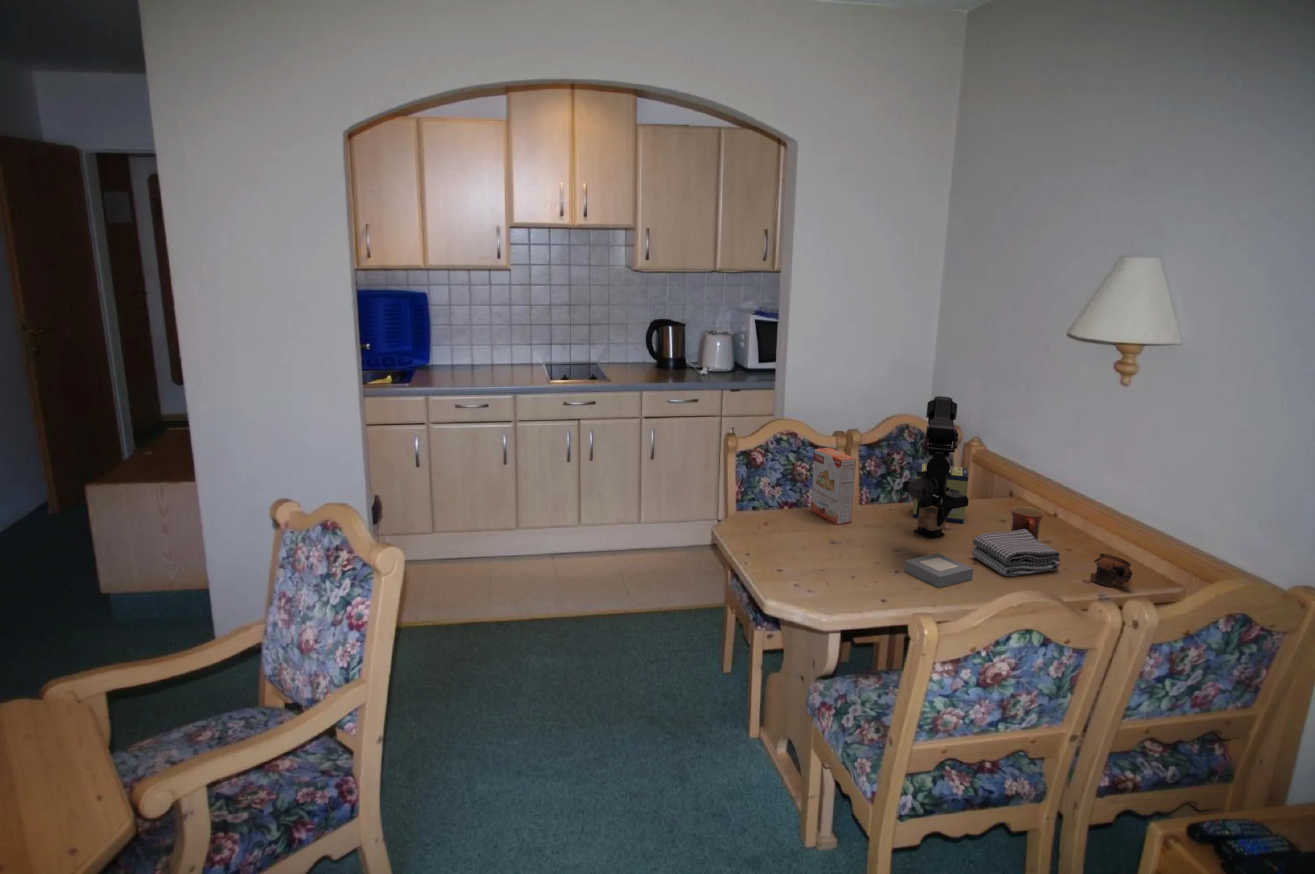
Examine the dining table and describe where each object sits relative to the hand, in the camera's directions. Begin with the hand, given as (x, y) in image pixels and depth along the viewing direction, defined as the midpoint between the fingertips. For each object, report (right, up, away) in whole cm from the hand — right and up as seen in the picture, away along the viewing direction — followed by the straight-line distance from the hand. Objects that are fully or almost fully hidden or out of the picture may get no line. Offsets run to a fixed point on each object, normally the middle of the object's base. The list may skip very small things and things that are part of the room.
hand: (931, 523), depth 233 cm
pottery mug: (+43, -14, -13) cm, 47 cm away
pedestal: (-2, -13, -11) cm, 17 cm away
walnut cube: (0, -1, 0) cm, 1 cm away
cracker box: (-21, -2, +33) cm, 39 cm away
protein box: (+14, -2, +37) cm, 39 cm away
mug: (+30, -8, +11) cm, 33 cm away
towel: (+22, -12, -2) cm, 25 cm away
